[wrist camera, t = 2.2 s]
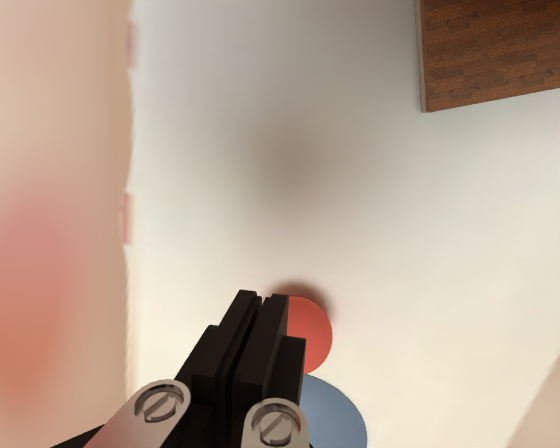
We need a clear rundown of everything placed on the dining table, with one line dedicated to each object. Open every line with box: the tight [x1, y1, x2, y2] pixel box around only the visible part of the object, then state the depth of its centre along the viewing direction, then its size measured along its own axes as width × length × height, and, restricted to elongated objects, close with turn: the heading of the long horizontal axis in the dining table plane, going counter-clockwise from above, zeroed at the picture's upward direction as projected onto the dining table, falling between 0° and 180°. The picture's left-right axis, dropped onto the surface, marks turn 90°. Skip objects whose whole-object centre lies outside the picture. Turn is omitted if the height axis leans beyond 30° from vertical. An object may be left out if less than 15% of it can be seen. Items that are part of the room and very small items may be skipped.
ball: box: [287, 296, 332, 375], centre depth 24 cm, size 6×6×6 cm
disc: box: [299, 374, 367, 448], centre depth 31 cm, size 14×14×1 cm
